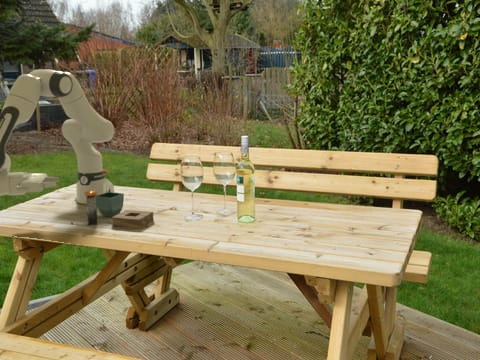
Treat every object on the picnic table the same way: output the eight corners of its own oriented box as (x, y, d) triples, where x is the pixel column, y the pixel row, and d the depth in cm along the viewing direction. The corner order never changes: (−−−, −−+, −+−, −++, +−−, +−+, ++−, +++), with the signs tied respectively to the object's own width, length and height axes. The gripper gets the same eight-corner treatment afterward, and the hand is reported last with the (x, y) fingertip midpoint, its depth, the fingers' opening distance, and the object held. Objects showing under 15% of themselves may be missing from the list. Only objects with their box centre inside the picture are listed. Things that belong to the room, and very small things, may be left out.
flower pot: (95, 216, 227) (94, 195, 226) (109, 211, 235) (108, 191, 233) (111, 219, 223) (110, 197, 222) (125, 214, 231) (124, 193, 229)
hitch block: (127, 219, 222) (126, 209, 222) (153, 221, 219) (153, 211, 218) (112, 227, 211) (111, 217, 210) (139, 229, 208) (139, 219, 207)
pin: (90, 222, 219) (88, 190, 216) (101, 222, 218) (99, 191, 215) (84, 225, 214) (81, 192, 212) (94, 226, 213) (92, 193, 210)
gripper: (14, 180, 196) (54, 178, 199) (23, 171, 216) (59, 169, 219) (15, 197, 197) (55, 195, 200) (24, 186, 217) (60, 184, 220)
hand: (57, 181), depth 210 cm, fingers open, 8 cm apart
